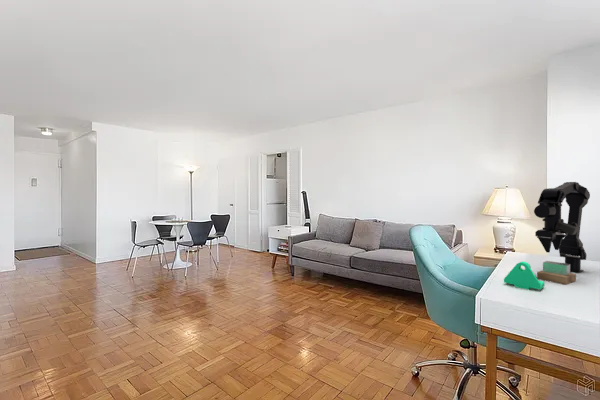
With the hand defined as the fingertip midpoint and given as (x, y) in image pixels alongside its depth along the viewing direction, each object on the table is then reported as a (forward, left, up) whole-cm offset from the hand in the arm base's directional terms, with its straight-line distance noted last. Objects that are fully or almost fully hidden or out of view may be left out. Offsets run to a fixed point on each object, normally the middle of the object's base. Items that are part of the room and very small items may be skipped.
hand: (552, 251), depth 135 cm
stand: (+5, +3, -12) cm, 13 cm away
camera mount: (+26, +1, -12) cm, 29 cm away
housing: (+5, +3, -8) cm, 10 cm away
